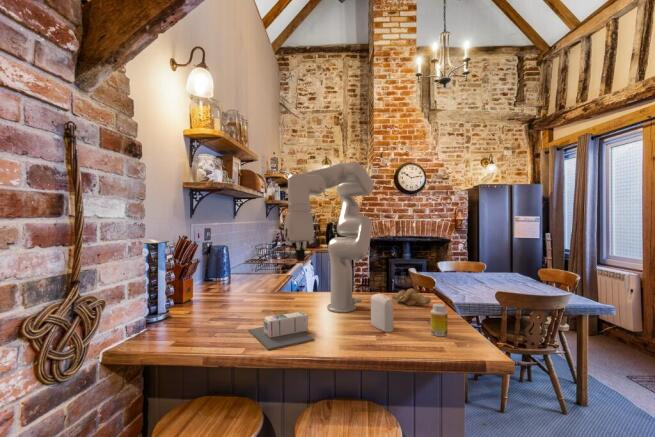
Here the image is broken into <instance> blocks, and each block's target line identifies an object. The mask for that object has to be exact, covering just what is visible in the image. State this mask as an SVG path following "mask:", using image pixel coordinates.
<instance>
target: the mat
mask: <svg viewBox="0 0 655 437" xmlns="http://www.w3.org/2000/svg"><path fill="white" fill-rule="evenodd" d="M248 332H249V333H250V335H252V336H253V337H254V338H255V340H257V341H258V342H259V343H260V344H261V345H262V346H263V347H265V349H266V350H267V351H272V350H277V349H282V348H285V347H292V346H295V345H300V344H305V343H309V342H314V341H315V338H314V337H312V336H311V335H309V334H308V333H307V332H306V331H303V332H297V333H292V334H287V335H282V336H276V337H271V338H270V337H269V336H267V335H266V334H265V333H264V326H261V327H254V328H250V329H248Z"/></svg>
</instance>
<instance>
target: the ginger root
mask: <svg viewBox="0 0 655 437" xmlns="http://www.w3.org/2000/svg"><path fill="white" fill-rule="evenodd" d="M391 298H392V299H394V300H396V303H398V304H401V303H403V304H405V305H406V306H407V307H409V306H410V307H411V306H414V305H415V306H421V307H422V306H426V305H429V304H430V303H431V302H432V299H431V297H430V296H428V295H427V296H425V295H423V294H421V293H419V292H417V291H416V290H415V289H414V287H413V288H412V287H411V288H408V289H407V290H404V289H401V290H399V291H398V292H397V293H396V294H393V295H391Z"/></svg>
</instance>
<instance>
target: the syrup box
mask: <svg viewBox="0 0 655 437" xmlns="http://www.w3.org/2000/svg"><path fill="white" fill-rule="evenodd" d="M263 327H264V333H265V334H266V335H267V336H269V337H270V338H271V337H276V336H282V335H287V334H292V333H297V332H307V331H308V330H309V315H308V314H306V313H305V312H303V311H302V310H299V311H294V312H287V313H281V314H275V315H270V316H269V315H268V316H264V317H263Z"/></svg>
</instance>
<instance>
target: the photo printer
mask: <svg viewBox="0 0 655 437" xmlns="http://www.w3.org/2000/svg"><path fill="white" fill-rule="evenodd" d="M394 323H395V322H394V302H393V300H392V299H391V298H390V297H389V296H387V295H386V294H383V293H375V294H373V295H372V296H371V297H370V324H371V326H373V327H374V328H376V329H379V330H380V331H382V332H386V333H392V332H393V331H394V330H395V329H394V326H395V324H394Z"/></svg>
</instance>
